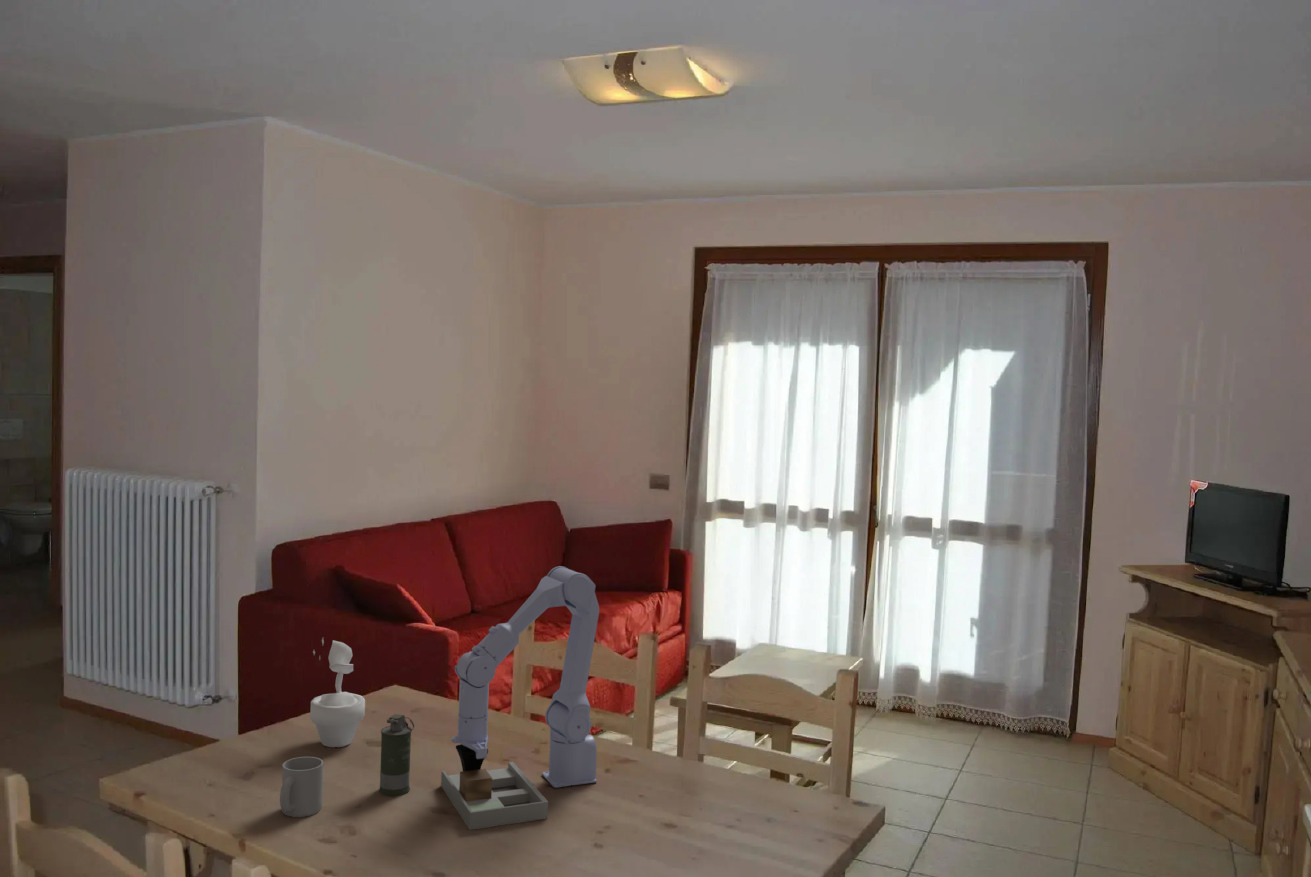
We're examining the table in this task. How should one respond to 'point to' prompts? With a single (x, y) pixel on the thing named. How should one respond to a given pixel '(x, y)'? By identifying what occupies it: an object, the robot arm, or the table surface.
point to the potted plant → (338, 703)
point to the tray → (498, 799)
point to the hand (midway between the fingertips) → (470, 782)
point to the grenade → (395, 756)
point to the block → (475, 785)
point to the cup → (302, 786)
